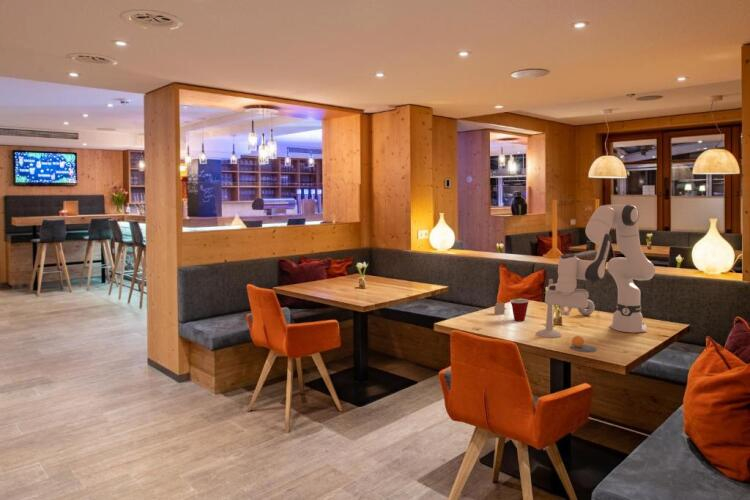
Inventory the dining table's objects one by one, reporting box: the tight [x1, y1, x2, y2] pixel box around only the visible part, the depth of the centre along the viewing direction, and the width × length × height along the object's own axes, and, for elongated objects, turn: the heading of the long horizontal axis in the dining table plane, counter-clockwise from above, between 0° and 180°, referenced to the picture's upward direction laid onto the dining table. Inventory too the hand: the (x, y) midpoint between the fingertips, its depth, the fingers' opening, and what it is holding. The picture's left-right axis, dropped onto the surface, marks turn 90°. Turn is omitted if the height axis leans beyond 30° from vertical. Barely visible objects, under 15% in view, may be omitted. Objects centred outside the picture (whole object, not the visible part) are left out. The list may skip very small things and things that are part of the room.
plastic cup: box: [509, 298, 530, 322], centre depth 324 cm, size 11×11×12 cm
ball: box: [571, 335, 585, 348], centre depth 270 cm, size 6×6×6 cm
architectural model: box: [493, 301, 507, 315], centre depth 342 cm, size 3×7×7 cm, turn 92°
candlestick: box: [535, 278, 563, 339], centre depth 292 cm, size 13×13×30 cm
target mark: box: [569, 344, 598, 353], centre depth 268 cm, size 12×12×1 cm
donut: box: [577, 298, 596, 316], centre depth 336 cm, size 10×3×10 cm, turn 87°
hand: (565, 315), depth 272 cm, fingers closed
